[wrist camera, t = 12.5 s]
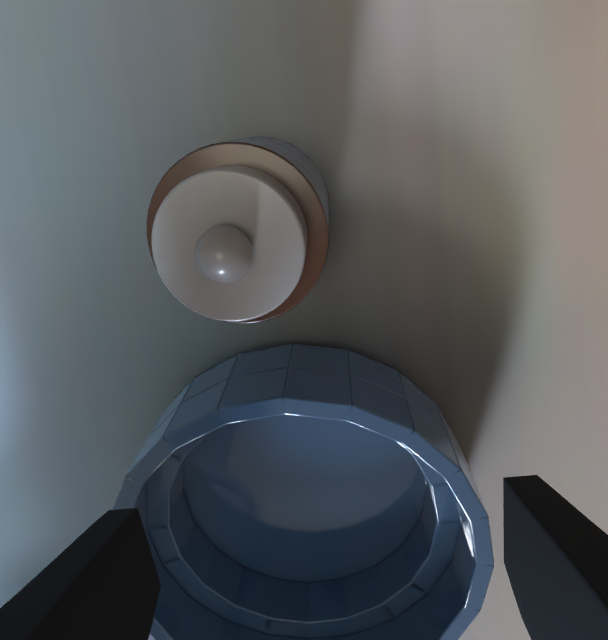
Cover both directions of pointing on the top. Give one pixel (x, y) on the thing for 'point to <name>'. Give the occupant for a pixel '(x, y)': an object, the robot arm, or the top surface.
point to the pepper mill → (240, 229)
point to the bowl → (309, 505)
